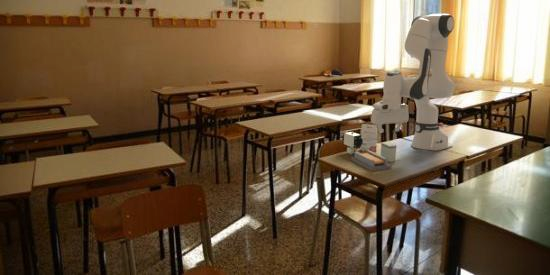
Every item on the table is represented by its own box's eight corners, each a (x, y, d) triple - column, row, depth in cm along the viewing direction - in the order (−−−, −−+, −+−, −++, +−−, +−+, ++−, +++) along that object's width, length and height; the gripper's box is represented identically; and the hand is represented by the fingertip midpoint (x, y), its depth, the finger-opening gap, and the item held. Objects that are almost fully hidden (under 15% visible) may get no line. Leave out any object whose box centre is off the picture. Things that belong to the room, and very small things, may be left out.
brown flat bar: (367, 154, 211) (367, 152, 210) (383, 162, 198) (383, 160, 198) (358, 156, 209) (358, 154, 208) (374, 164, 196) (374, 162, 196)
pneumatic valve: (355, 157, 215) (356, 134, 212) (341, 151, 225) (341, 130, 222) (363, 155, 218) (364, 133, 215) (348, 150, 228) (349, 128, 225)
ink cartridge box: (376, 149, 229) (378, 123, 226) (376, 151, 225) (377, 125, 221) (360, 148, 232) (362, 122, 228) (360, 150, 227) (361, 124, 223)
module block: (387, 156, 216) (388, 141, 214) (395, 160, 209) (396, 145, 207) (380, 157, 214) (381, 142, 212) (388, 161, 208) (389, 146, 206)
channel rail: (369, 157, 214) (370, 149, 213) (390, 168, 198) (391, 159, 196) (351, 160, 210) (351, 151, 209) (371, 171, 194) (371, 162, 193)
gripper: (404, 102, 211) (402, 129, 214) (370, 104, 204) (368, 131, 207) (412, 104, 205) (410, 131, 209) (377, 106, 198) (375, 134, 202)
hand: (389, 131), depth 208 cm, fingers open, 8 cm apart
